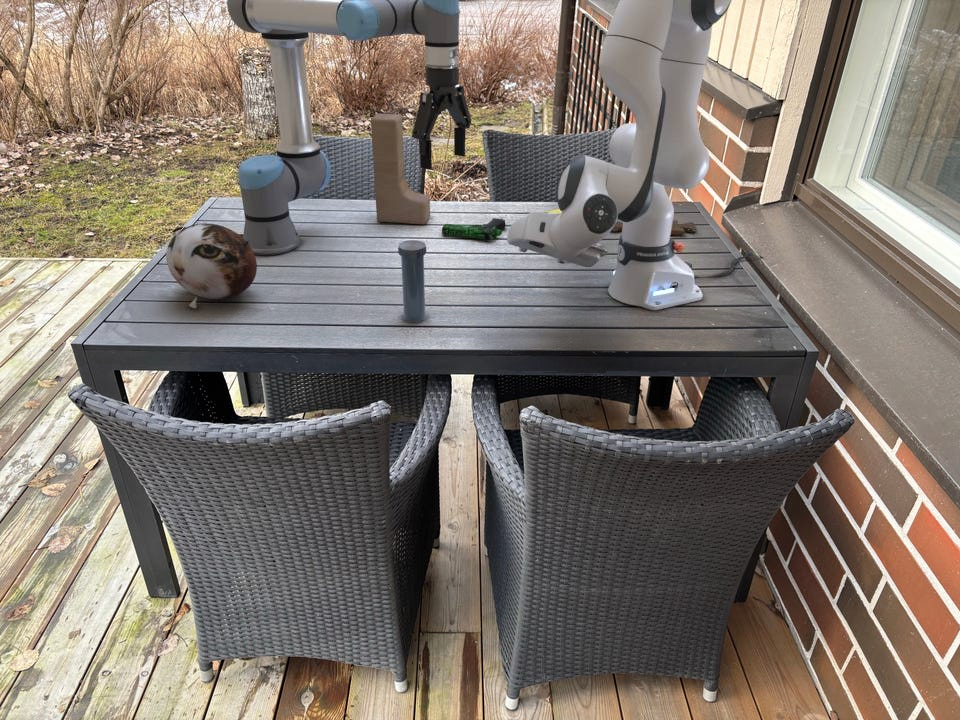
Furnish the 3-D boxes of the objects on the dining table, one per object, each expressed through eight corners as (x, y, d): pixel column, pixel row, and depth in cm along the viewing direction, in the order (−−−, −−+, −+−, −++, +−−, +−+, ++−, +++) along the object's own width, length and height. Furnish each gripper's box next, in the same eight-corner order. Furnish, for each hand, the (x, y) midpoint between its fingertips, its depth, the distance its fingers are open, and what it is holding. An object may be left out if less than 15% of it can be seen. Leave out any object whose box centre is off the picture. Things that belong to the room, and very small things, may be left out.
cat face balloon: (130, 285, 161) (164, 203, 163) (192, 308, 177) (221, 233, 178) (195, 307, 151) (229, 220, 152) (254, 330, 166) (285, 250, 168)
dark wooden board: (699, 237, 207) (691, 225, 216) (700, 231, 206) (692, 220, 215) (610, 234, 207) (606, 222, 216) (611, 228, 207) (607, 217, 215)
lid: (399, 259, 150) (399, 251, 149) (397, 248, 155) (396, 240, 154) (427, 257, 151) (427, 249, 150) (424, 247, 156) (423, 239, 155)
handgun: (511, 219, 210) (493, 234, 198) (511, 228, 211) (492, 244, 199) (461, 212, 215) (440, 226, 203) (461, 221, 217) (440, 236, 204)
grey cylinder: (405, 323, 159) (401, 252, 150) (402, 313, 163) (399, 243, 154) (426, 321, 160) (424, 250, 151) (424, 312, 164) (421, 242, 155)
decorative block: (425, 225, 212) (423, 121, 196) (376, 222, 213) (369, 118, 198) (430, 216, 218) (428, 115, 203) (382, 213, 220) (376, 113, 204)
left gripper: (421, 75, 148) (424, 176, 159) (486, 61, 166) (485, 153, 177) (393, 71, 151) (397, 171, 162) (460, 58, 169) (460, 148, 180)
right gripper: (614, 236, 150) (585, 253, 163) (524, 208, 145) (502, 228, 158) (609, 265, 149) (580, 279, 162) (518, 237, 143) (496, 255, 157)
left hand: (443, 161), depth 169 cm, fingers open, 13 cm apart
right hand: (541, 254), depth 160 cm, fingers open, 8 cm apart
